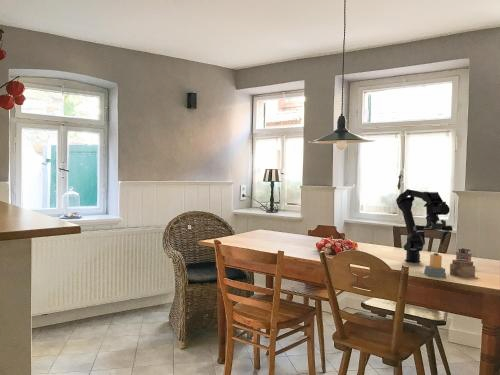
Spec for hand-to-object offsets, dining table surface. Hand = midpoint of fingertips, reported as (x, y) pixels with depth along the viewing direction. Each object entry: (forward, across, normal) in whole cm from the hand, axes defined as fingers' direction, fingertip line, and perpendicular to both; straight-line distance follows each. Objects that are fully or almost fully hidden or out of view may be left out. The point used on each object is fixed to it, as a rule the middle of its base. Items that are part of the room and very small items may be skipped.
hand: (433, 244), depth 233 cm
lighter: (+12, +19, +10) cm, 25 cm away
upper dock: (+14, +10, -12) cm, 21 cm away
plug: (+12, -5, -16) cm, 21 cm away
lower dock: (+14, -5, -16) cm, 22 cm away
